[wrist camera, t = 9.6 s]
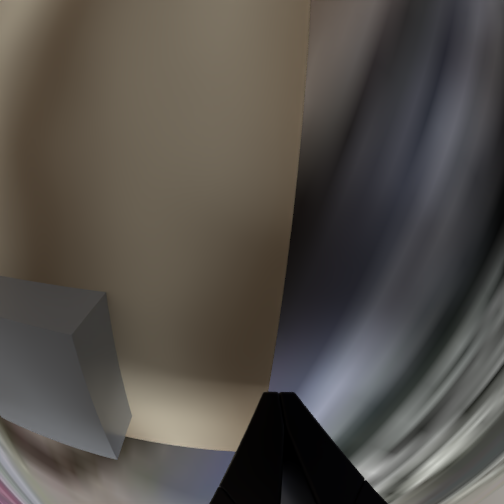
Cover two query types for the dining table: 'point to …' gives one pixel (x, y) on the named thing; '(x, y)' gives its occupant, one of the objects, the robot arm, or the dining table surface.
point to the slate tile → (61, 366)
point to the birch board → (159, 188)
